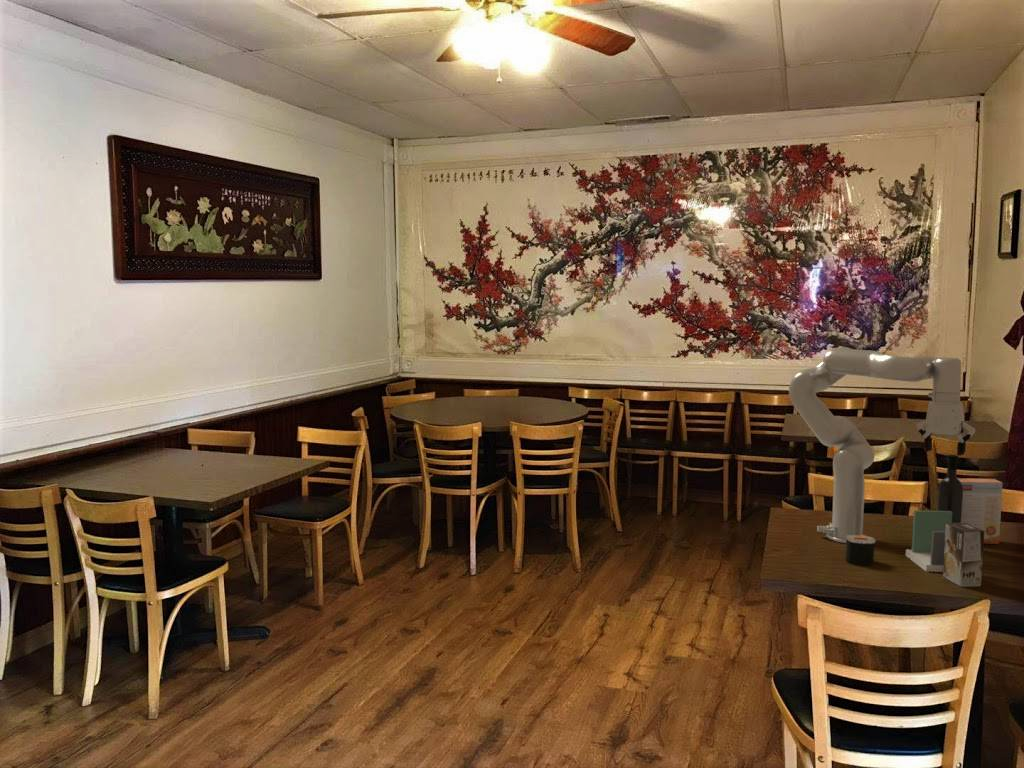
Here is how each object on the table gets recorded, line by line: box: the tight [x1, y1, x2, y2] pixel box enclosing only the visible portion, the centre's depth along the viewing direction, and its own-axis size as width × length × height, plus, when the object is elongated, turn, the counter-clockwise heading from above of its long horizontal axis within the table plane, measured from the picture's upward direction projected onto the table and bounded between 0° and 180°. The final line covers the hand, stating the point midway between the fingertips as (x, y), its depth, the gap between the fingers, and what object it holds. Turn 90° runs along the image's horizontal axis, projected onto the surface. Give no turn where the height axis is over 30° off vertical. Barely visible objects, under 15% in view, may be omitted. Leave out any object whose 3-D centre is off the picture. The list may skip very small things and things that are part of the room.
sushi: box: [845, 534, 876, 567], centre depth 258 cm, size 8×8×8 cm
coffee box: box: [942, 523, 984, 588], centre depth 240 cm, size 9×6×16 cm
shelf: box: [905, 509, 952, 573], centre depth 256 cm, size 13×15×15 cm
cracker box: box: [956, 477, 1003, 545], centre depth 278 cm, size 14×6×21 cm, turn 84°
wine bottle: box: [936, 454, 963, 523], centre depth 272 cm, size 6×6×30 cm
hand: (944, 452), depth 260 cm, fingers open, 9 cm apart
